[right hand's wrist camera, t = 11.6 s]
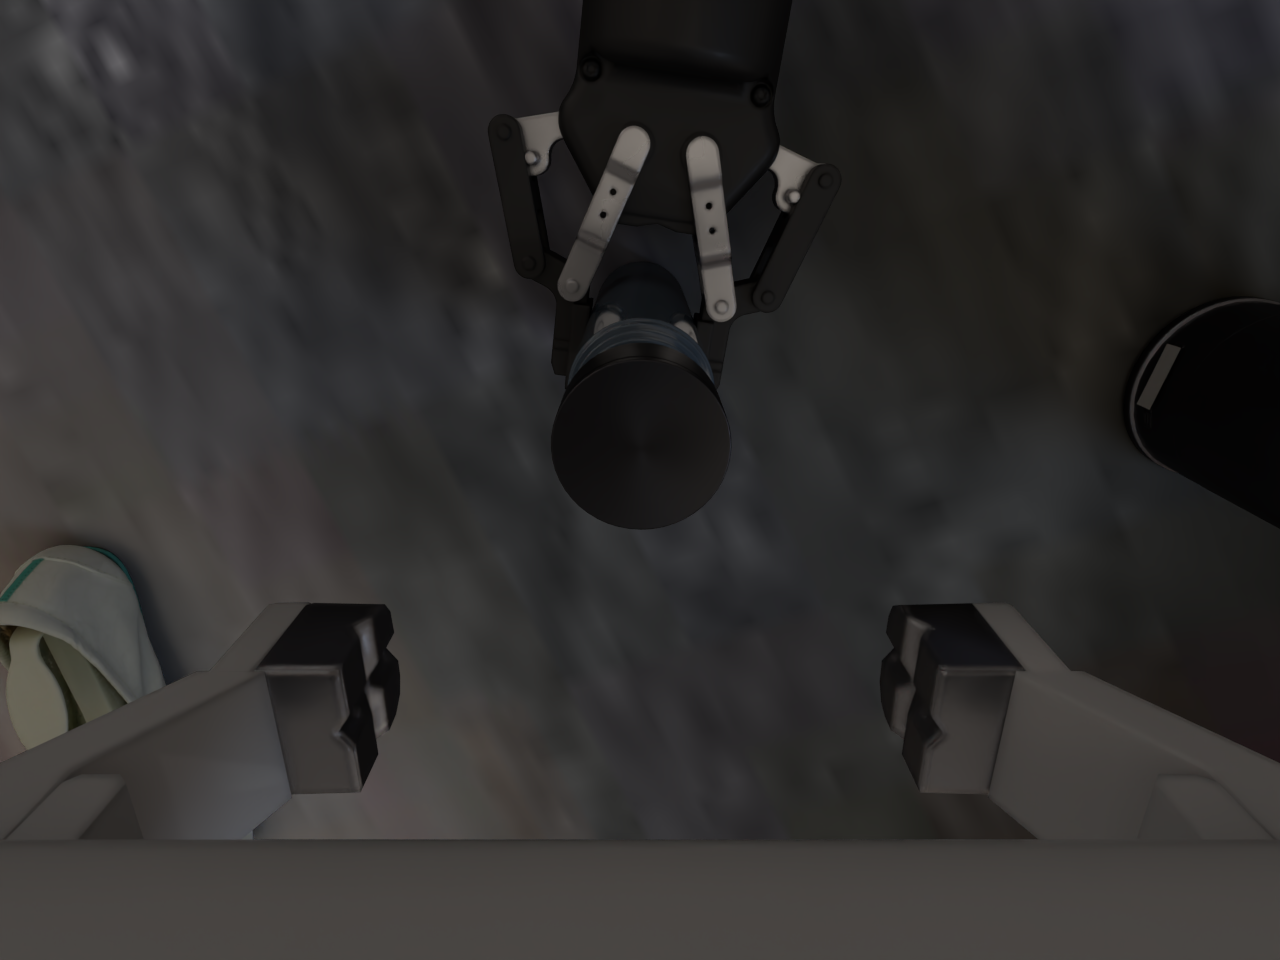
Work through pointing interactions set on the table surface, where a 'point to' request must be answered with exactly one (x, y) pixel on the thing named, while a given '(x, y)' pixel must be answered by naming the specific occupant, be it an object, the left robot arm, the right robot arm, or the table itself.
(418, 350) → the table surface
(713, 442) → the cap
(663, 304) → the bottle
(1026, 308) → the table surface
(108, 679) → the ballet flat
